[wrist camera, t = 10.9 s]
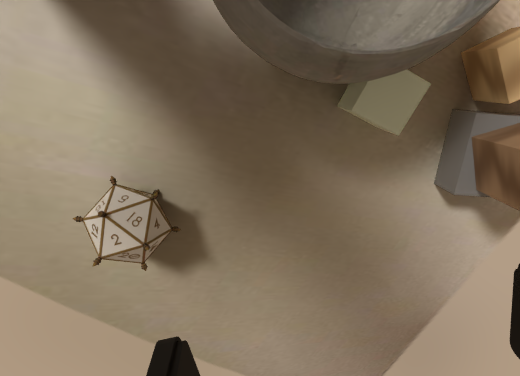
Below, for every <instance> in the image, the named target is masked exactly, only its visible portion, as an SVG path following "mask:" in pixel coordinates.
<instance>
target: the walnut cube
mask: <svg viewBox="0 0 520 376" xmlns="http://www.w3.org/2000/svg"><path fill="white" fill-rule="evenodd" d="M472 147H473V158H474V169H475V180H476V190H478V191H480V192H482V193H484V194H486V195H488V196H490V197H492V198H494V199H497V200H499V201H501V202H503V203H505V204H507V205H509V206H511V207H513V208H515V209H517V210H519V211H520V123H517V124H514V125H510V126H507V127H504V128H500V129H497V130H493V131H490V132H487V133H483V134H480V135H476V136H473V137H472Z"/></svg>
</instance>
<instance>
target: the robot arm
mask: <svg viewBox="0 0 520 376" xmlns="http://www.w3.org/2000/svg"><path fill="white" fill-rule="evenodd" d="M510 345H511V348H512V350H513V351H514V353H515V354H516V355H517V357H518V358H519V359H520V264H519V266H518V269H516V270H515V272H514V283H513V298H512V313H511V329H510ZM146 376H200V374H199V371H198V369H197V366H196V363H195V361H194V358H193V355H192V353H191V350H190V347H189V345H188V342H187V341H186V340H185V341H181V339H180V338H179V337H173V338H168V339H164V340H159V341H158V342H157V343H156V345H155V349H154V352H153V355H152V359H151V362H150V365H149V368H148V372H147V375H146Z"/></svg>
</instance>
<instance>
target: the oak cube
mask: <svg viewBox="0 0 520 376" xmlns="http://www.w3.org/2000/svg"><path fill="white" fill-rule="evenodd" d="M461 56H462V60H463V63H464V67H465V71H466V75H467V79H468V83H469V87H470V91H471V94H472V98H473V100H474V101H484V102H494V103H505V104H510V103H513V102H515V101H517V100H519V99H520V27H516V28H511V29H509V30H507V31H505V32H503V33H501V34H499V35H497V36H494V37H492V38H490V39H488V40H486V41H484V42H482V43H480V44H478V45H476V46H474V47H472V48H470V49H467V50H465V51H463V52H461Z"/></svg>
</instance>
